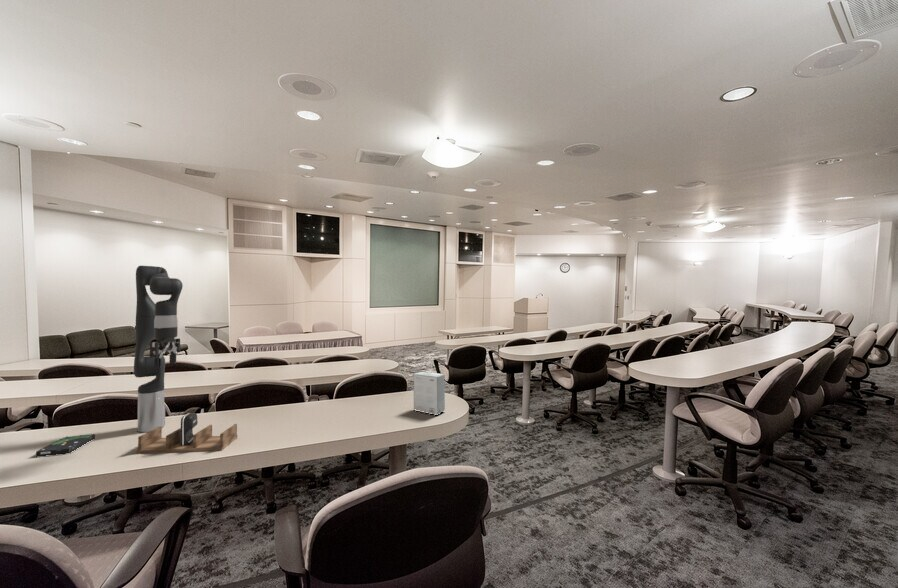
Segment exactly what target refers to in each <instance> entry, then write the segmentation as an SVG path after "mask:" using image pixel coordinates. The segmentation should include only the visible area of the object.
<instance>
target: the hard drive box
mask: <svg viewBox="0 0 898 588" xmlns="http://www.w3.org/2000/svg"><path fill="white" fill-rule="evenodd" d="M445 379H446V377H445V373H444V374H443V373H436V372H428V371H427V372H426V371H420V372H416V373H413V410H414V409H416V410H420V411H424V412H428V413H432V414H436V415H437V414H439V413H441V412H443V411H444V410H445V411H446V405H445V404H446V402H445V401H446V399H445V398H446V397H445V396H446V394H445V393H446V392H445V391H446V390H445V388H446V387H445Z"/></svg>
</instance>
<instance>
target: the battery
mask: <svg viewBox="0 0 898 588" xmlns="http://www.w3.org/2000/svg"><path fill="white" fill-rule="evenodd" d="M198 423H199V422H198V415H197V413H196V412H191V413H190V412H189V413H186V414H184V415H183V416H182V417H181V419H180V428H181V446H184V445H189V444H191V443H192V442H193V435H194V432H193V429H194V428H195V427H197V425H198Z"/></svg>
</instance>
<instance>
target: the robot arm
mask: <svg viewBox="0 0 898 588" xmlns="http://www.w3.org/2000/svg"><path fill="white" fill-rule="evenodd" d="M135 286H136V287H135V289H136V306H135V307H136V308H135V348H134V349H135V350H134V361H133V374H134V377H135V378H147V377H154V379H152V380H150V381H148V382H145V383H142V384H141V385H139V386H138V388H137V432H138V433H147V432H149V431H151V430H153V429H155V428H157V427H160V426H162V428H164V427H165V425H166V404H165V373H166V371H165V370H166V357H165V356H164V354H165V353H166V352H168V353H169V364H170V365H172V364H173V365H174V364H177V355H178V353H180V352H181V338H177V337H178V325H179V324H178V302H179V298H180V295H181V293H182V290H183V286H184V285H183V282H182V280H181V279H179V278H176V277H175V278H174V277H172V278H171V277H169V273H168V271H167V270H166V268H164V267H162V266H154V265H153V266H151V265H138V266H137V268H136V269H135ZM147 286H148V287H149V291H150V292H151V294H152V295H155V296H170V297H169V298H168V299H165V300H159V301H156V302H154V301H153V299H152V298H151V297H150V295H149V293H148V291H147ZM153 339H157V340H156V342H155V341H153ZM152 341H153V342H152ZM148 346H149V355H147V356H145V352H146V349H147V348H148Z"/></svg>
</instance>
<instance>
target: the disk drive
mask: <svg viewBox="0 0 898 588" xmlns="http://www.w3.org/2000/svg"><path fill="white" fill-rule="evenodd" d="M93 439H94V440H95V439H96V434H95V433H93V434H92V433H91V434H82V435H81V434H80V435H73V436H65V437H62V438H60V439H58V440H56V441H53V442H52V443H50V444H47V445H46V446H43V448H40V449H38V450H37V451H35V457H36V458H38V457H37V456H43V457H47V456H46V455H53V456H57V455H56V454H62V455H67V454H66V453H70V454H72V453H73V452H72V451H74V450H75V451H77V450H78V449H77V448H79V447H81V446H82V445H84V444H86V443H87V442H89V441H91V440H93ZM94 440H93V441H94ZM91 442H92V441H91ZM89 443H90V442H89ZM87 444H88V443H87ZM87 444H86V445H87ZM84 446H85V445H84ZM82 447H83V446H82ZM82 447H81V448H82ZM76 449H77V450H76ZM79 449H80V448H79ZM75 451H74V452H75ZM71 452H72V453H71Z"/></svg>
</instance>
